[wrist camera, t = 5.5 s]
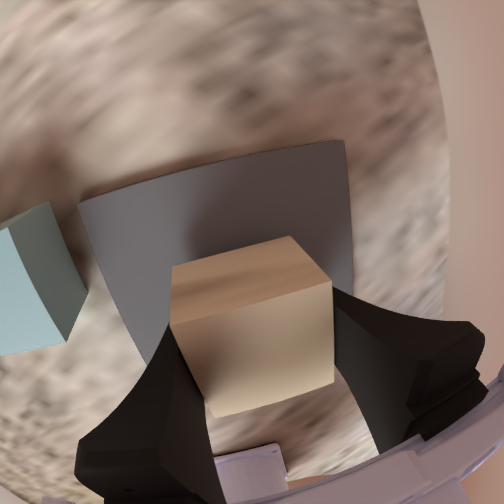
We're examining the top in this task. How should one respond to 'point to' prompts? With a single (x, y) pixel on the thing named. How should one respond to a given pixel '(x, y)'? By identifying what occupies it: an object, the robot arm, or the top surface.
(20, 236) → the teal brick
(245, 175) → the charcoal mat
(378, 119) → the top surface
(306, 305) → the birch brick
